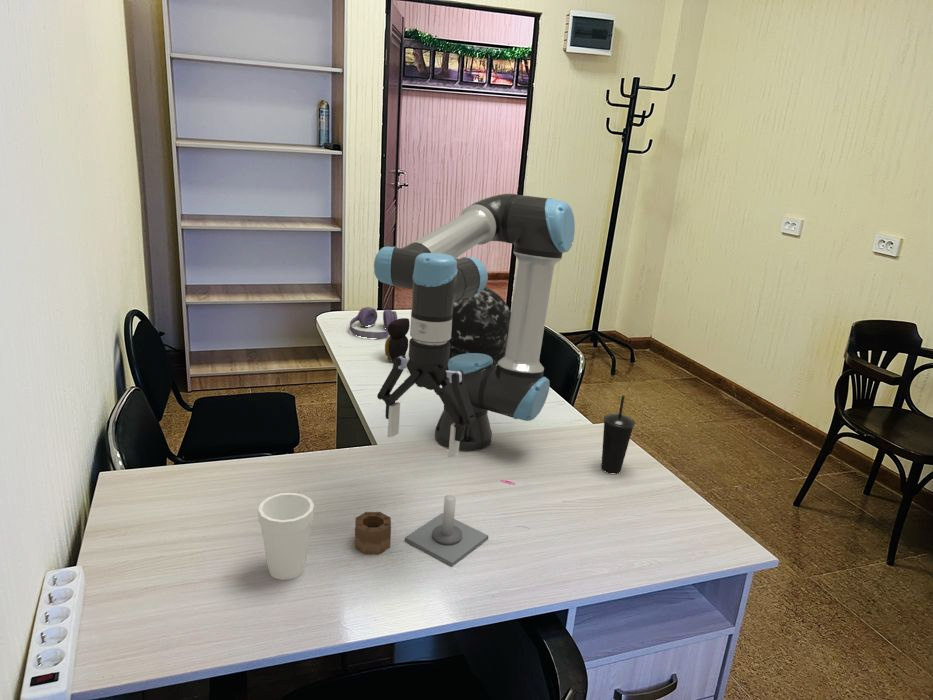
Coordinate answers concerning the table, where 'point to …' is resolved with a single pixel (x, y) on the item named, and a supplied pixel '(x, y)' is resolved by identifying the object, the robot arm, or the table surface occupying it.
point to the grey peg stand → (447, 536)
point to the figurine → (397, 338)
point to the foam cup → (286, 533)
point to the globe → (480, 325)
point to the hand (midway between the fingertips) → (422, 444)
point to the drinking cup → (616, 440)
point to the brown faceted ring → (372, 532)
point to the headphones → (372, 322)
